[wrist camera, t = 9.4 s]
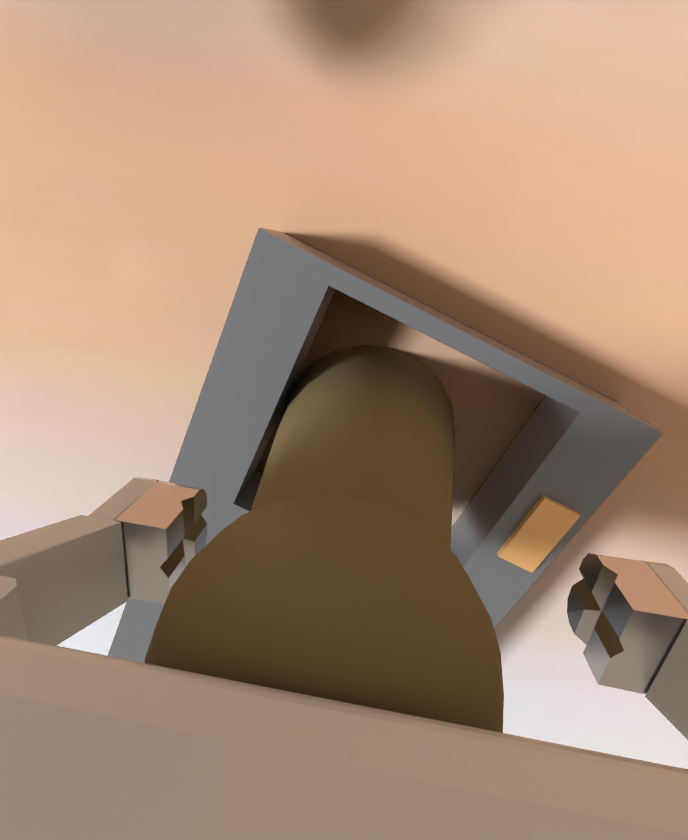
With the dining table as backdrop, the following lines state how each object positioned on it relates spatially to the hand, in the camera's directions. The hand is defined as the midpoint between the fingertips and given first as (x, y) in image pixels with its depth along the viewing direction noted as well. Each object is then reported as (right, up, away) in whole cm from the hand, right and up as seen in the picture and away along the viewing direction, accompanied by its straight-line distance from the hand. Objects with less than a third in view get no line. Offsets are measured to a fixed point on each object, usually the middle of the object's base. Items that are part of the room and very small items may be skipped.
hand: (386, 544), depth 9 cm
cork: (0, +2, +6) cm, 7 cm away
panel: (-1, -2, +8) cm, 8 cm away
